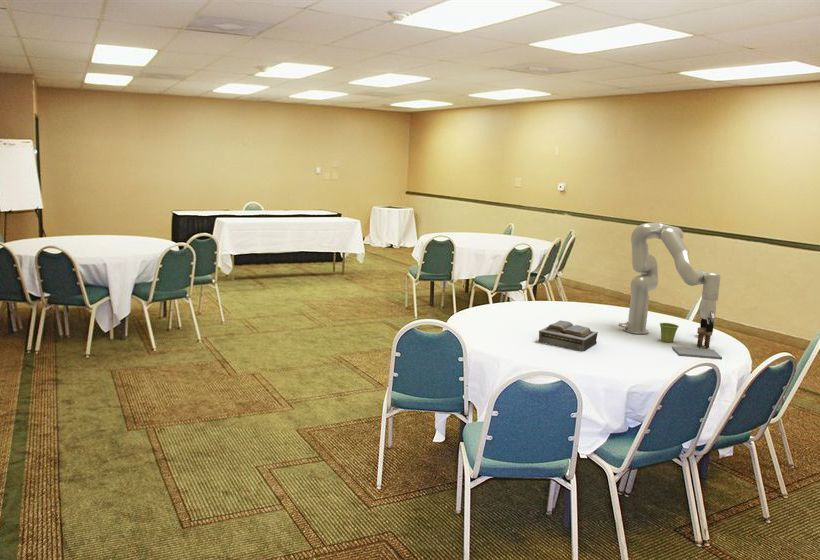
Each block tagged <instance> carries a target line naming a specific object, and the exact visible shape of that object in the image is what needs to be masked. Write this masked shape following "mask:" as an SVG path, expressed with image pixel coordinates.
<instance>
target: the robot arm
mask: <svg viewBox="0 0 820 560" xmlns="http://www.w3.org/2000/svg"><path fill="white" fill-rule="evenodd" d="M683 238H684V232H683V230H682V228H680V227H677V226H673V225H669V224H665V223H660V222H646V223H641V224H640V225H637V226H636V227H635V228H634V229H633V230H632V232H631V236H630V244H631V262H632V264H631V266H632V270H634V272H635V273H640V275H639V274H638V275H637V276H635V277H633V279H632V280H631V282H630V301H629V302H630V303H629V311H628V312H629V313H628V320H627V321H626V322H625V323H623V322H618V327H621V328H623V330H624V331H625V332H626V333H630V334H633V335H635V334H636V335H648V334H649V330H648V329H647V323H648V322H647V319H648V315H649V314H648V313H649V302H650V296H649V295H650V294H649V292H651V291H653V290H655V289H657V286H658V283H659V275H658V274H659V270H658V261H657V259H656V258H655V256H654V255H652V254H649V245H648V243H647V242H648V241H647V240H651V239H658V240H660V241H662V243H663V244H664V246H665V247H666V249H667V250H668V253H670V255H671V257H672V258H673V262H674V265H675V269H676V272H677V273H678V274H679V276H680V278H681V279H682V281H683V282H684V283H685V284H686V285H688V286H691V287H693V286H694V287H695V286H699V285H702V291H701V292H702V293H701V299H702V303H701V309H700V316H701V317H700V316H699V317H700V319H701V320H700V326H699V327H705V328H706V332H712V333H713V332H714V327H715V326H714V324H715V319H716V313H717V302H718V301H719V294H720V285H721V284H720V283H721V274H720V273H718V272H715V271H714V272H713V271H705V270H702V269H694V268H693V267H692V265H691V263H690V261H689V253H690V249H689V248H688V246H687V245H686V244H685V242H684V241H683Z"/></svg>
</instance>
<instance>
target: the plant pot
mask: <svg viewBox="0 0 820 560" xmlns="http://www.w3.org/2000/svg"><path fill="white" fill-rule="evenodd" d="M659 327H660V340H661V341H663V342H664V341H665V343H673V342H674V340H675V337H676V333H677V330H678V328H679V327H680V326H679V325H678V324H675V323H670V322H660V323H659Z"/></svg>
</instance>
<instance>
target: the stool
mask: <svg viewBox="0 0 820 560" xmlns="http://www.w3.org/2000/svg"><path fill="white" fill-rule="evenodd" d="M696 334H697V335H698V337H697V343H696V346H697V347H698V349H703V347H704V346H705V349H707V348H709V349H710V343H711V336H713V332H706V328H705V327H700V326H698V327H697V333H696ZM704 335H705V339H703V336H704ZM703 342H704V343H703Z"/></svg>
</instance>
